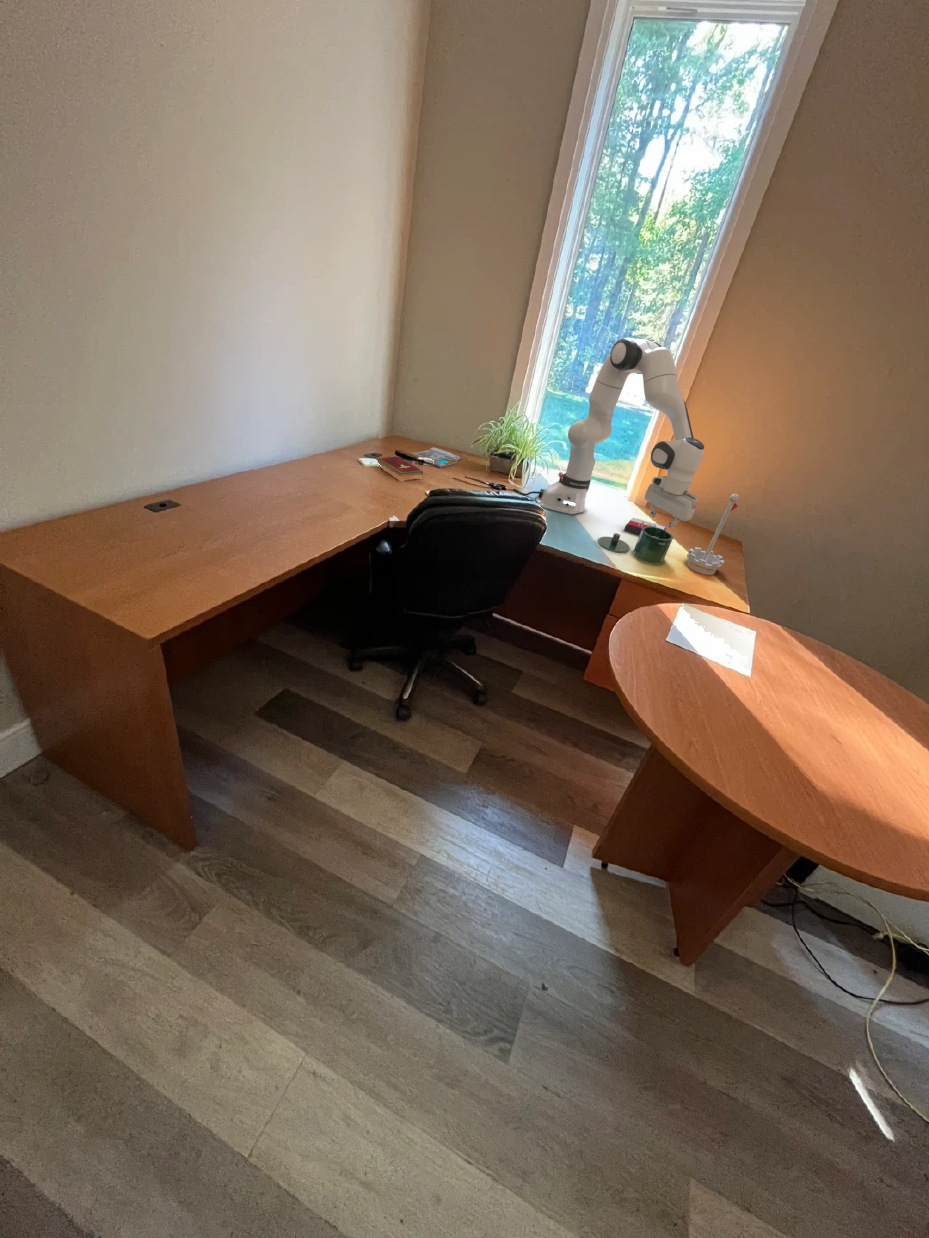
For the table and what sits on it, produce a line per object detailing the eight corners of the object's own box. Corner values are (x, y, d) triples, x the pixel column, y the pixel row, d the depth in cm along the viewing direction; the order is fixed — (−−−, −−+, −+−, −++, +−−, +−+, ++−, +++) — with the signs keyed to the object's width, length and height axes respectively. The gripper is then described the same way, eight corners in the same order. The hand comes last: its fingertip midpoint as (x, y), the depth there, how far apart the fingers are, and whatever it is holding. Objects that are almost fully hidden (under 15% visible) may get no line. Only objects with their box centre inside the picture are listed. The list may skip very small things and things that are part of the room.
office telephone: (435, 445, 264) (465, 455, 256) (434, 450, 266) (465, 460, 258) (408, 452, 247) (440, 463, 239) (407, 457, 249) (439, 468, 241)
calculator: (632, 516, 215) (667, 525, 210) (629, 525, 218) (663, 535, 212) (626, 523, 207) (661, 533, 201) (623, 533, 210) (658, 543, 204)
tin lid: (599, 551, 190) (603, 538, 187) (595, 537, 200) (598, 525, 197) (631, 556, 190) (636, 544, 187) (625, 542, 200) (629, 530, 197)
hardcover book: (397, 463, 238) (398, 455, 236) (422, 479, 226) (423, 470, 224) (376, 466, 231) (376, 457, 229) (400, 481, 219) (401, 472, 217)
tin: (637, 565, 184) (647, 540, 178) (628, 545, 198) (637, 521, 192) (667, 570, 184) (678, 545, 178) (656, 550, 198) (666, 526, 192)
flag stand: (705, 578, 183) (742, 502, 166) (677, 561, 192) (709, 488, 175) (725, 573, 190) (763, 499, 173) (697, 557, 198) (730, 486, 181)
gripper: (705, 497, 169) (688, 533, 177) (661, 475, 183) (647, 509, 191) (693, 498, 166) (677, 535, 174) (649, 475, 180) (636, 510, 188)
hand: (661, 521), depth 183 cm, fingers open, 8 cm apart
